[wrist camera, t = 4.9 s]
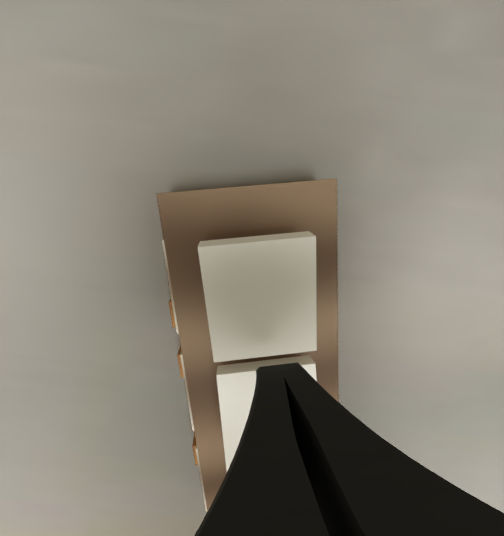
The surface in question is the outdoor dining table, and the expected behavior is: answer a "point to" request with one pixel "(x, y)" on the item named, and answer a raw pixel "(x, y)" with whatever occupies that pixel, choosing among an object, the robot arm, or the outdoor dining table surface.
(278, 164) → the outdoor dining table surface
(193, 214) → the switch unit
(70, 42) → the outdoor dining table surface
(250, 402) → the switch
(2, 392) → the outdoor dining table surface
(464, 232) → the outdoor dining table surface
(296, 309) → the switch
